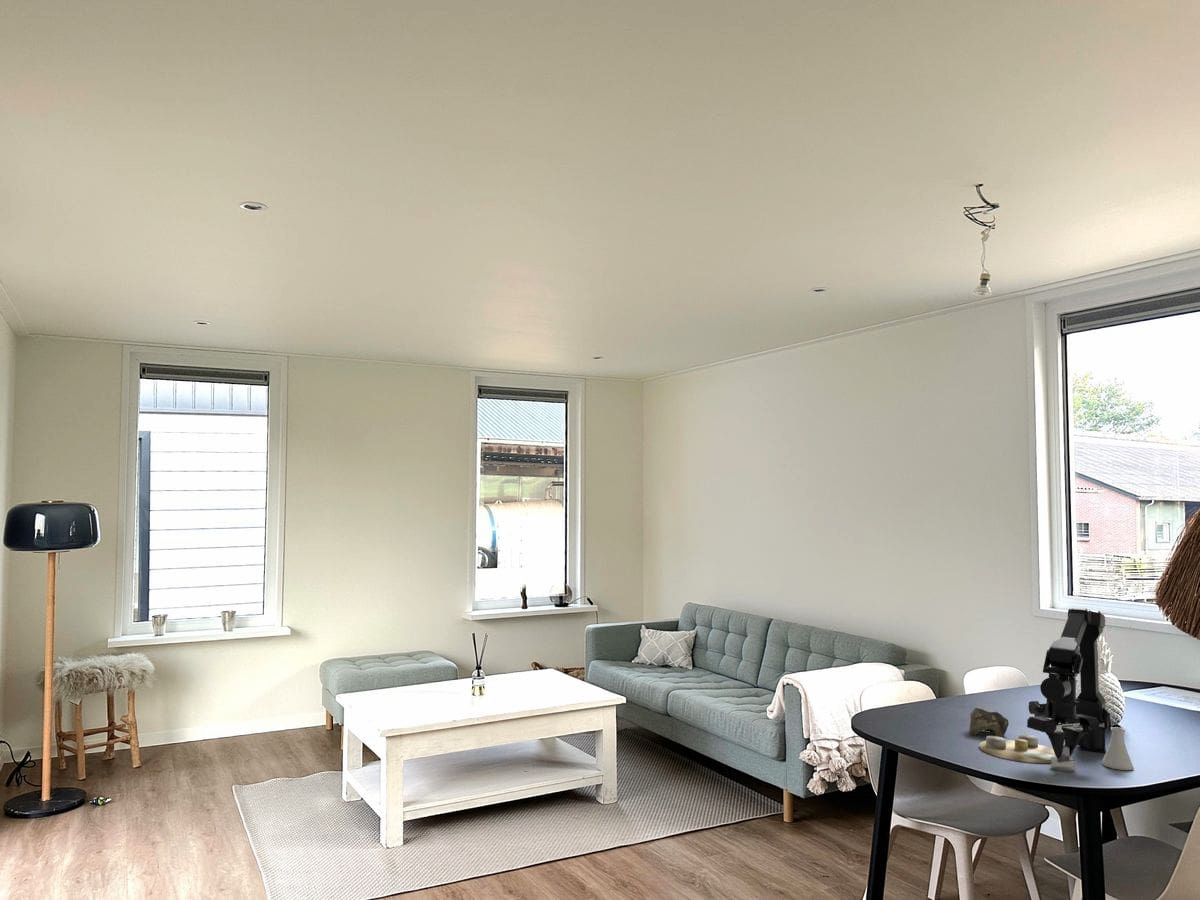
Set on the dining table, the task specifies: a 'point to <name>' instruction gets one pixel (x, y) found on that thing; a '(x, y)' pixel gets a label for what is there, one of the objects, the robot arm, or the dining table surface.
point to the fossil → (988, 722)
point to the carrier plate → (1017, 753)
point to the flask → (1117, 752)
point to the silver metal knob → (1063, 761)
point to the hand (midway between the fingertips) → (1063, 757)
